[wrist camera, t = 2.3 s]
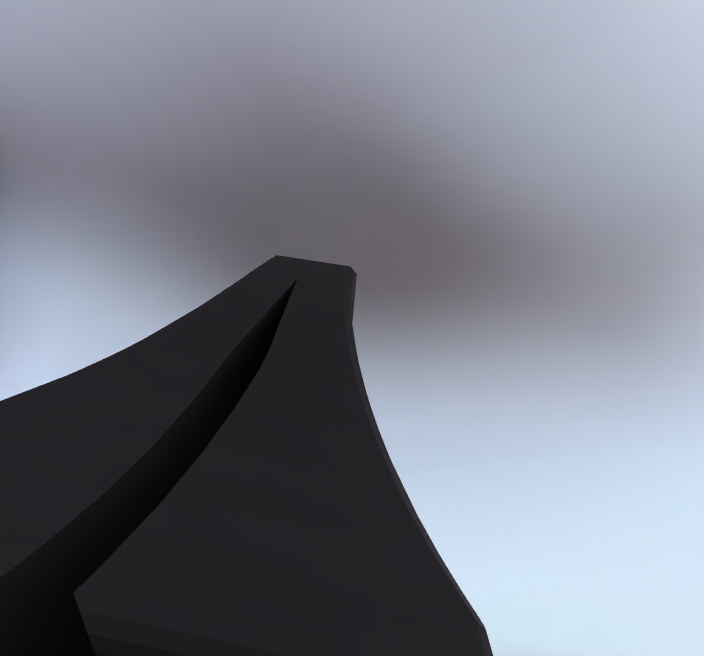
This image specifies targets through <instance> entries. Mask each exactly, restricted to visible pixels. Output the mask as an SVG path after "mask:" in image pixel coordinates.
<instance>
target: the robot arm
mask: <svg viewBox="0 0 704 656" xmlns="http://www.w3.org/2000/svg"><path fill="white" fill-rule="evenodd" d="M356 275H357V274H356V273H355V272H354V270H353V269H352V268H351V267H350V266H343V265H337V264H330V263H323V262H317V261H310V260H304V259H297V258H290V257H284V256H277V255H276V256H275V257H273V258H271V259H270V260H268V261H267V262H265V263H264V264H262V265H261V266H259V267H258V268H256V269H255V270H253V271H252V272H250V273H249V274H248V275H246V276H245V277H243V278H242V279H240V280H239V281H237V282H236V283H234V284H233V285H232V286H230V287H228V288H227V289H225V290H224V291H222V292H221V293H219V294H218V295H216V296H215V297H213V298H212V299H210V300H209V301H207V302H206V303H204V304H203V305H201V306H200V307H198V308H196V309H195V310H193V311H191V312H190V313H188V314H186V315H184V316H183V317H181V318H179V319H178V320H176V321H174V322H172V323H171V324H169V325H167V326H166V327H164V328H162V329H160V330H159V331H157V332H155V333H153V334H152V335H150V336H148V337H147V338H145V339H143V340H141V341H139V342H137V343H135V344H133V345H132V346H130V347H128V348H126V349H124V350H122V351H120V352H118V353H116V354H114V355H111V356H109V357H107V358H105V359H103V360H101V361H98V362H96V363H94V364H92V365H90V366H88V367H85V368H83V369H81V370H79V371H76V372H74V373H72V374H69V375H67V376H65V377H62V378H59V379H57V380H54V381H51V382H49V383H46V384H44V385H41V386H38V387H36V388H33V389H31V390H28V391H25V392H23V393H20V394H17V395H15V396H12V397H10V398H7V399H4V400H2V401H0V656H493V654H492V650H491V646H490V643H489V639H488V636H487V632H486V629H485V627H484V625H483V623H482V622H481V620H480V618H479V617H478V615H477V614H476V612H475V611H474V609H473V608H472V606H471V605H470V603H469V602H468V600H467V598H466V597H465V595H464V594H463V592H462V591H461V589H460V588H459V586H458V584H457V583H456V581H455V580H454V578H453V576H452V575H451V573H450V571H449V570H448V568H447V566H446V565H445V563H444V562H443V560H442V558H441V557H440V555H439V553H438V551H437V550H436V548H435V546H434V544H433V542H432V541H431V539H430V537H429V535H428V533H427V532H426V530H425V528H424V526H423V525H422V523H421V521H420V519H419V517H418V516H417V514H416V512H415V509H414V507H413V505H412V503H411V501H410V499H409V497H408V495H407V493H406V491H405V489H404V487H403V484H402V482H401V480H400V478H399V476H398V474H397V472H396V470H395V468H394V466H393V464H392V462H391V459H390V457H389V455H388V452H387V449H386V447H385V444H384V442H383V439H382V437H381V434H380V432H379V429H378V426H377V423H376V421H375V418H374V415H373V412H372V409H371V406H370V403H369V400H368V396H367V393H366V389H365V386H364V382H363V378H362V374H361V370H360V366H359V362H358V357H357V352H356V346H355V339H354V332H353V326H352V320H353V309H354V298H355V286H356Z"/></svg>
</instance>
